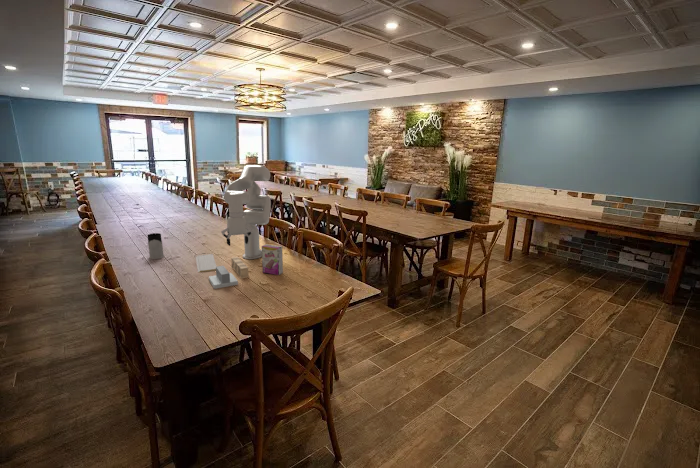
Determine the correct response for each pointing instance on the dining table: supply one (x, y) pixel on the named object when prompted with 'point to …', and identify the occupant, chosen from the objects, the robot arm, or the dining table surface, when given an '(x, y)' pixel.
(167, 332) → the dining table surface
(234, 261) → the oak bar
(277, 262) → the candy bar box
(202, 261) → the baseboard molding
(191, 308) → the dining table surface
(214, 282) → the plinth
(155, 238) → the glass holder
